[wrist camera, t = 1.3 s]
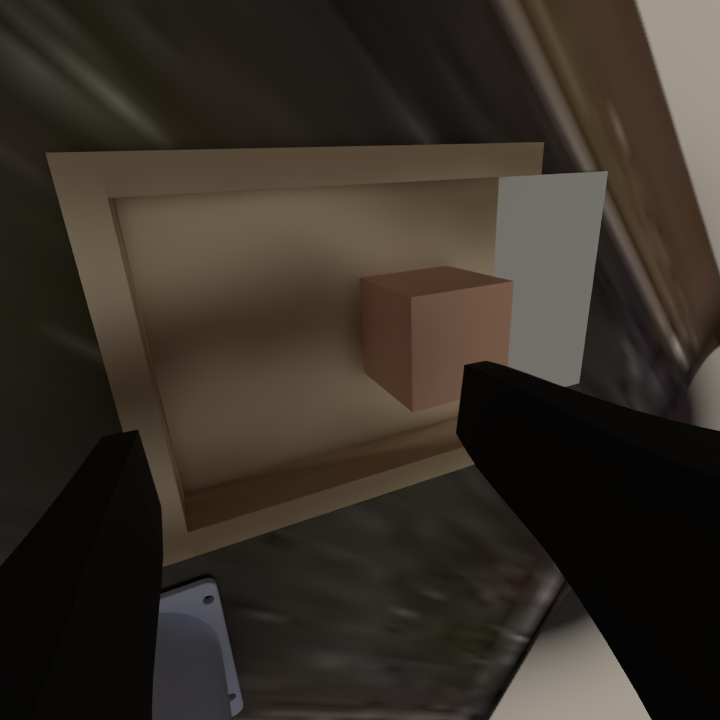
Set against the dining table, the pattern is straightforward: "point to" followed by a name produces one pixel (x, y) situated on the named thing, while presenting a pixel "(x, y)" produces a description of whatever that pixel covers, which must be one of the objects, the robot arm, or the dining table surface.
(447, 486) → the dining table surface
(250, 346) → the tray
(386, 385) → the terracotta cube
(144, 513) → the robot arm
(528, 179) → the grey panel
